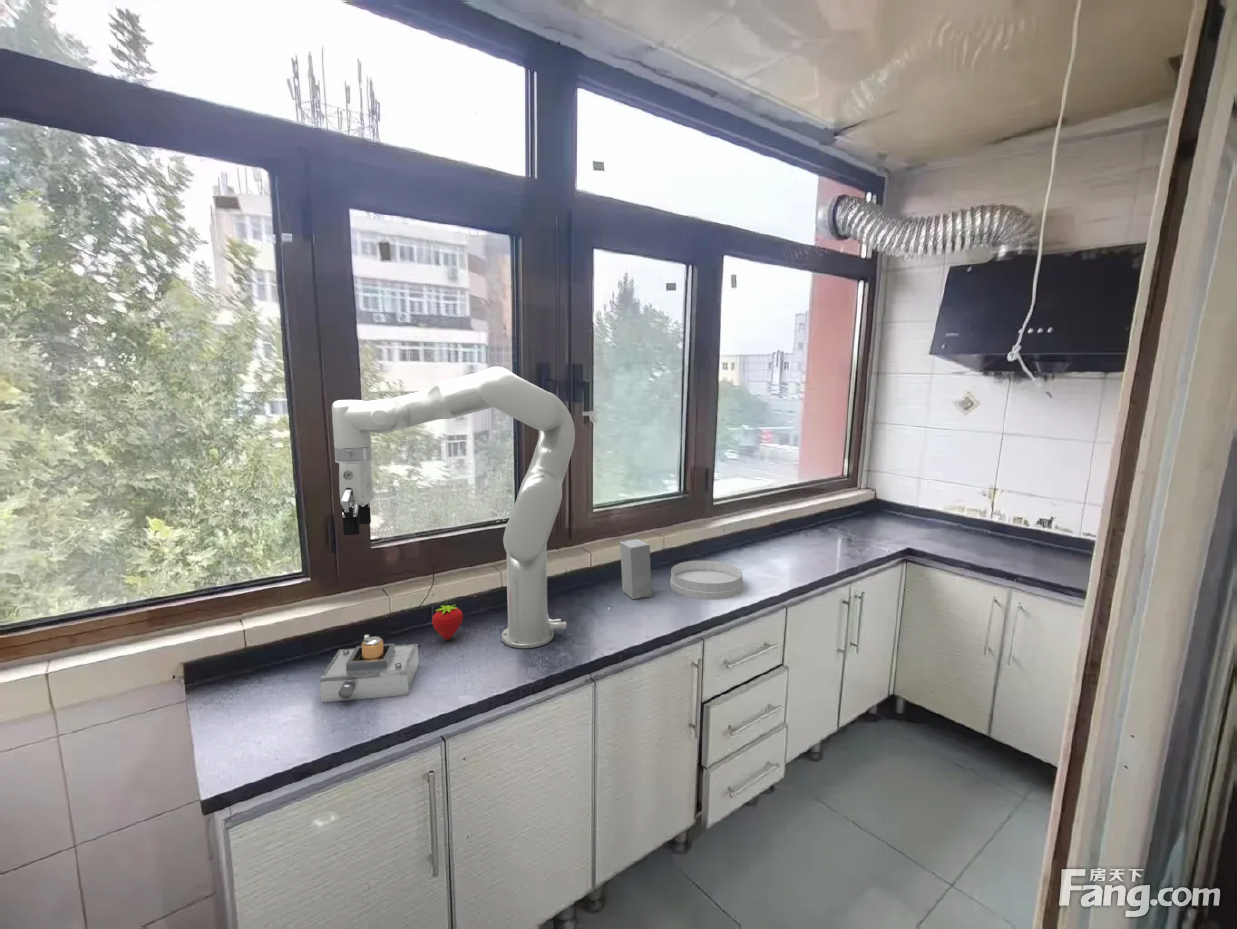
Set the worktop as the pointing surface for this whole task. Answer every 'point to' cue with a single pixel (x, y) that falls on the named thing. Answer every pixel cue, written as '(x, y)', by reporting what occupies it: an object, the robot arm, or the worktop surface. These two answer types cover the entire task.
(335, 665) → the plate
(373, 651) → the spout can
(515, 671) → the worktop surface
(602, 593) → the worktop surface
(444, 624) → the strawberry
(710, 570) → the dish
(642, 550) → the skincare box
